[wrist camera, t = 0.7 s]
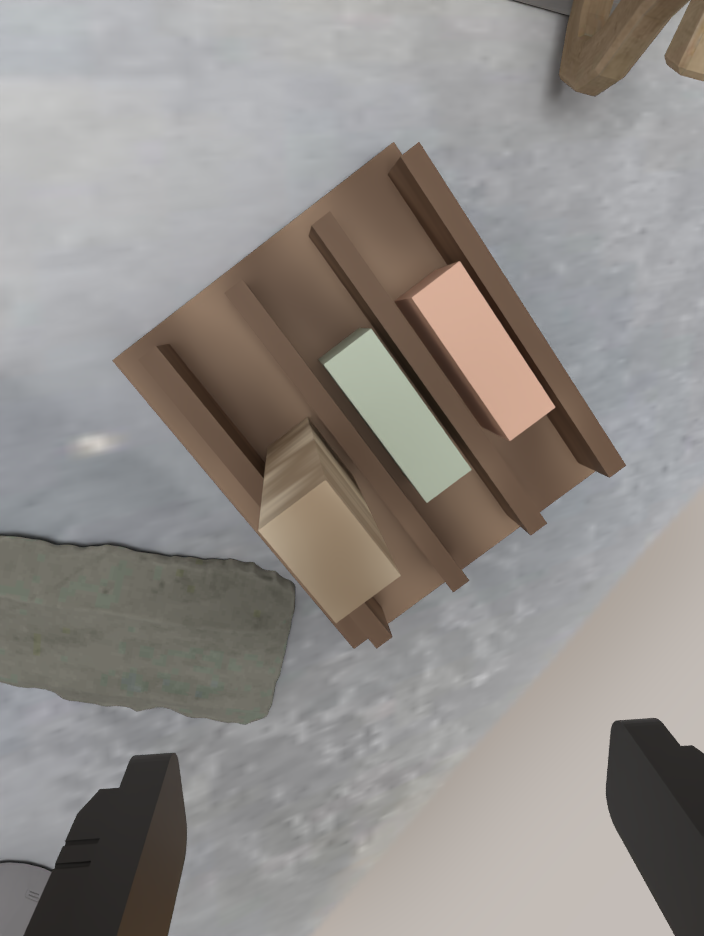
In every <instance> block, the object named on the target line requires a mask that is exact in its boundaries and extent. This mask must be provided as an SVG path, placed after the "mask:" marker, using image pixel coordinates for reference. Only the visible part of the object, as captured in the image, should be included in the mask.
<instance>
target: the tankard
mask: <svg viewBox="0 0 704 936" xmlns="http://www.w3.org/2000/svg"><path fill="white" fill-rule="evenodd" d="M516 1H519V2H523V3H526V4H530V5H534V6H537V7H541V8H544V9H548V10H551V11H555V12H558V13H562V14H566V15H569V20H568V24H567V30H566V36H565V42H564V47H563V53H562V59H561V65H560V71H559V76H560V79H561V80H562V81H563V82H564V83H566V84H567V85H568V86H569V87H571V88H572V89H573V90H575V91H576V92H580V93H583V94H587V95H591V96H597V95H598V94H600V93H601V92H603V91H604V90H606V89H607V88H609V87H610V86H612V85H613V84H615V83H616V82H618V81H619V80H621V79H622V78H624V77H625V76H626V74H627V73H628V72H629V71H630V69H631V68H632V67H633V65H634V64H635V63H636V62H637V60H638V59H639V58H640V57H641V55H642V54H643V53H644V52H645V50H646V49H647V48H648V46H649V45H650V44H651V43H652V41H653V40H654V39H655V38H656V36H657V35H658V34H659V33H660V31H661V30H662V29H663V27H664V26H665V25H666V24H667V22H668V21H669V20H670V19H671V17H672V16H674V15H675V14H676V13H677V12H678V11H679V10H680V9H681V8H682V7H683V6H684V5H685V4H686V3H687V2H688V1H690V0H516ZM665 60H666V64H667V65H668V66H669V67H671V68H672V69H673V70H675V71H676V72H677V73H678V74H680V75H682V76H686V77H690V78H693V79H697V80H701V81H704V0H691V1H690V3H689V5H688V7H687V9H686V12H685V14H684V16H683V18H682V20H681V22H680V24H679V26H678V28H677V31H676V33H675V35H674V37H673V39H672V41H671V43H670V45H669V47H668V49H667V52H666V54H665Z"/></svg>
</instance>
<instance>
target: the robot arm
mask: <svg viewBox="0 0 704 936" xmlns="http://www.w3.org/2000/svg"><path fill="white" fill-rule="evenodd" d="M606 798H607V805H608V809H609V813H610V816H611V819H612V822H613V824H614V826H615V828H616V830H617V832H618V834H619V835H620V837H621V839H622V841H623V843H624V844H625V846H626V848H627V850H628V852H629V853H630V855H631V857H632V859H633V861H634V863H635V864H636V866H637V868H638V870H639V872H640V873H641V875H642V877H643V879H644V881H645V882H646V884H647V886H648V888H649V890H650V891H651V893H652V895H653V897H654V899H655V901H656V902H657V904H658V906H659V908H660V909H661V911H662V913H663V915H664V917H665V918H666V920H667V922H668V924H669V926H670V928H671V929H672V931H673V933H674V935H675V936H704V753H702V752H701V751H700V750H698V749H697V748H695V747H694V746H692V745H691V746H680V744H679V743H678V742H677V741H676V739H675V738H674V737H673V736H672V734H671V733H670V732H669V731H668V729H667V728H666V727H665V726H664V724H663V723H662V722H661V721H660V720H659V719H656V718H647V719H633V720H619V721H615V722H614V723H613V724H612V727H611V735H610V746H609V757H608V769H607V781H606ZM186 843H187V823H186V814H185V807H184V799H183V792H182V784H181V776H180V769H179V762H178V757H177V755H176V753H164V754H150V755H135V756H133V757H132V758H131V759H130V761H129V764H128V766H127V769H126V772H125V774H124V777H123V779H122V782H121V785H120V787H119V788H111V789H100V790H99V791H98V792H97V793H96V794H95V795H94V796H93V797H92V799H91V800H90V801H89V802H88V803H87V804H86V805H85V806H84V807H83V808H82V809H81V810H80V811H79V813H78V814H77V816H76V818H75V820H74V823H73V825H72V827H71V829H70V832H69V834H68V836H67V838H66V843H65V846H63V847H62V850H61V852H60V854H59V856H58V859H57V861H56V863H55V869H54V870H52V872H50V871H48V870H46V869H44V868H41V867H37V866H33V865H29V864H23V863H10V862H8V863H0V936H168V932H169V928H170V923H171V919H172V914H173V910H174V905H175V901H176V897H177V892H178V888H179V883H180V879H181V874H182V870H183V865H184V860H185V854H186Z"/></svg>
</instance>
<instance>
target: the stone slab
mask: <svg viewBox="0 0 704 936" xmlns="http://www.w3.org/2000/svg"><path fill="white" fill-rule="evenodd" d="M294 608H295V585H294V583H293V582H292V581H290V580H288V579H285V578H283V577H282V576H280V575H279V574H278V573H277V572H276V571H270V570H264V569H262V568H260V567H259V566H258V565H256V564H255V563H253V562H241V561H238V560H234V559H227V560H220V559H209V560H202V559H199V558H194V557H185V558H183V557H180V556H172V557H168V556H164V555H159V554H151V553H144V552H136V551H133V550H130V549H127V548H124V547H120V546H112V545H102V546H96V547H95V546H89V547H78V546H74V545H55V544H51V543H49V542H47V541H43V540H36V539H28V538H23V537H15V536H0V682H2V683H6V684H10V685H13V686H17V687H24V688H40V689H46V690H49V691H52V692H54V693H56V694H57V695H59V696H60V697H61V698H63V699H66V700H70V701H79V702H86V703H93V704H98V705H101V706H125V707H129V708H131V709H133V710H135V711H142V710H146V709H152V708H156V707H164V708H169V709H171V710H174V711H176V712H178V713H180V714H183V715H185V716H187V717H192V718H208V719H212V720H216V721H221V722H226V723H232V722H233V723H240V724H248V723H251V722H254V721H257V720H260V719H262V718H264V717H266V716H267V715H268V712H269V709H270V707H271V705H272V700H273V695H274V690H275V684H276V681H277V680H278V678H279V676H280V672H281V667H282V663H283V658H284V654H285V650H286V645H287V639H288V635H289V632H290V627H291V620H292V617H293V613H294Z"/></svg>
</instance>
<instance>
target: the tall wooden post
mask: <svg viewBox="0 0 704 936" xmlns="http://www.w3.org/2000/svg"><path fill="white" fill-rule="evenodd" d="M258 531H259V532H260V533H261V534H262V536H263V537H264V538H265V539H266V540H267V542H268V543H269V544H270V545H271V546H272V548H273V549H274V550H275V551H276V552H277V554H278V555H279V556H280V557H281V558H282V560H283V561H284V562H285V563H286V564H287V566H288V567H289V568H290V569H291V570H292V572H293V573H294V574H295V575H296V576H297V577H298V579H299V580H300V581H301V582H302V583H303V585H304V586H305V587H306V588H307V589H308V591H309V592H310V593H311V594H312V595H313V597H314V598H315V599H316V600H317V601H318V603H319V604H320V605H321V606H322V607H323V609H324V610H325V611H326V612H327V613H328V615H329V616H330V617H331V618H332V619H333V621H334V622H335V623H337V622H339V621H340V620H341V619H343V618H344V617H345V616H347V615H348V614H349V613H351V612H352V611H354V610H355V609H356V608H358V607H359V606H360V605H362V604H363V603H364V602H366V601H367V600H368V599H370V598H371V597H373V596H374V595H375V594H377V593H378V592H379V591H381V590H382V589H383V588H385V587H386V586H387V585H389V584H390V583H391V582H393V581H394V580H396V579H397V578H398V577H400V576H401V575H400V573H399V571H398V569H397V567H396V565H395V562H394V560H393V558H392V556H391V554H390V552H389V550H388V548H387V546H386V544H385V542H384V539H383V537H382V535H381V533H380V531H379V529H378V527H377V525H376V523H375V521H374V518H373V516H372V514H371V512H370V510H369V508H368V506H367V504H366V502H365V500H364V497H363V495H362V493H361V491H360V489H359V487H358V485H357V483H356V481H355V479H354V477H353V475H352V474H351V473H350V471H349V470H348V469H347V467H346V466H345V465H344V464H343V462H342V461H341V460H340V458H339V457H338V456H337V454H336V453H335V452H334V451H333V449H332V448H331V447H330V445H329V444H328V443H327V441H326V440H325V439H324V438H323V436H322V435H321V434H320V432H319V431H318V430H317V428H316V427H315V426H314V425H313V423H312V422H311V421H310V419H309V418H308V417H307V418H305V419H304V420H303V421H301V422H300V423H299V424H297V425H296V426H295V427H293V428H292V429H291V430H289V431H288V432H287V433H286V434H284V435H283V436H282V437H280V438H279V439H278V440H276V441H275V442H274V443H272V444H271V445H270V446H268V447H267V456H266V465H265V474H264V483H263V492H262V501H261V510H260V519H259V528H258Z"/></svg>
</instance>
